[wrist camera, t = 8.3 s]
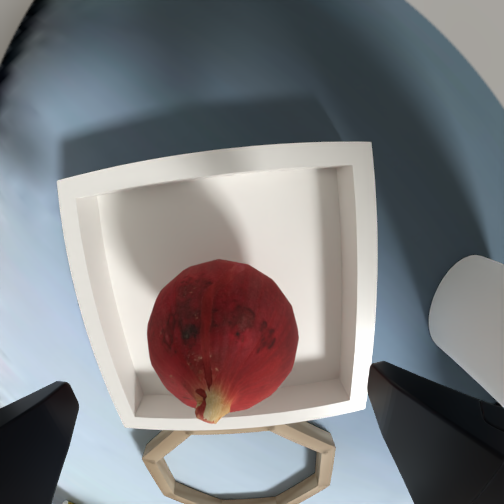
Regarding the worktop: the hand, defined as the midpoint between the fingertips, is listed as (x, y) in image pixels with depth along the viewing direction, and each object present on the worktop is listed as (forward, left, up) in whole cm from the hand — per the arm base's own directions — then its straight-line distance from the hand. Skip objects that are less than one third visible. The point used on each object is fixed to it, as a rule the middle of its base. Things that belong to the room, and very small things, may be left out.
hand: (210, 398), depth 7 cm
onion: (0, 0, -8) cm, 8 cm away
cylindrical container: (-16, +3, -9) cm, 19 cm away
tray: (0, 0, -8) cm, 9 cm away
